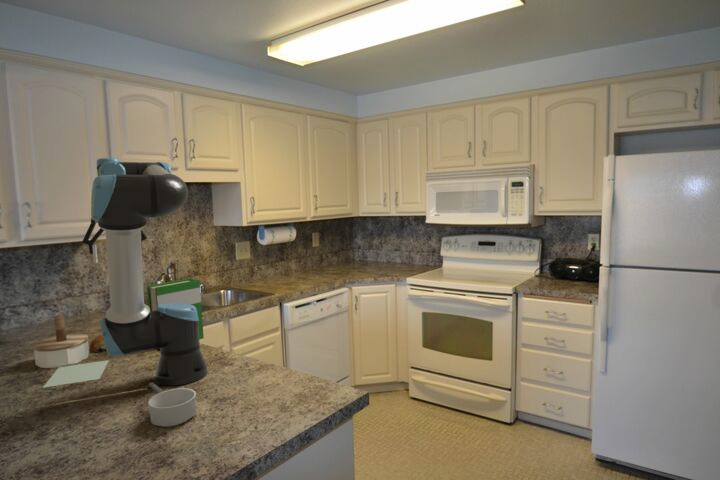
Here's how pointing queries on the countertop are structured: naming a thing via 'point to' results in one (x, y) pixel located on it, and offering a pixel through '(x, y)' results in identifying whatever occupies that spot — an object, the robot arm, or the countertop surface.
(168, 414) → the saucepan
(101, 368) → the mat
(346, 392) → the countertop surface
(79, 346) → the bowl
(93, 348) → the bread roll
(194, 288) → the hardback book
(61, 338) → the lid
